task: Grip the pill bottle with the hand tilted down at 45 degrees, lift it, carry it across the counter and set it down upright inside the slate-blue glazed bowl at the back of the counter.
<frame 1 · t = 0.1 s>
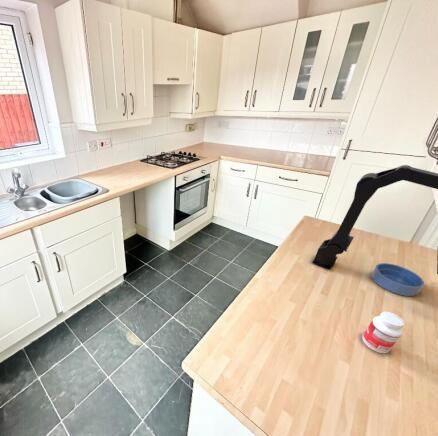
pill bottle: (374, 344, 71), on the counter
bowl: (393, 283, 92), on the counter
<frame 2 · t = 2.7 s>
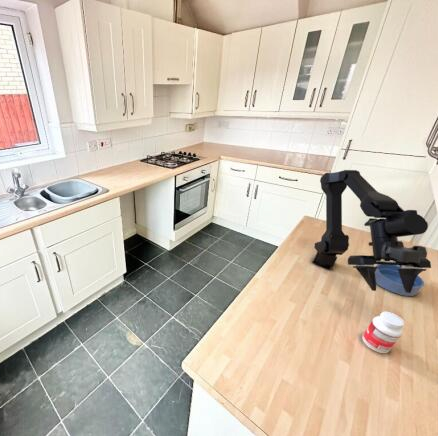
hand: (391, 291, 71), 13 cm above the counter, tool tilted 40°, fingers open, 9 cm apart
nothing on the counter moved.
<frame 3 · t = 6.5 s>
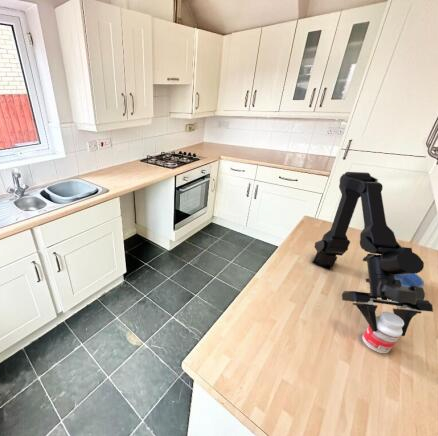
hand: (388, 333, 66), 7 cm above the counter, tool tilted 45°, fingers closed on pill bottle, 6 cm apart
pill bottle: (374, 344, 71), on the counter, touching gripper
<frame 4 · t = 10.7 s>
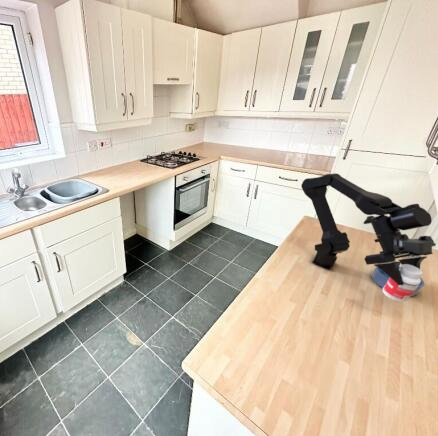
hand: (409, 283, 74), 13 cm above the counter, tool tilted 45°, fingers closed on pill bottle, 6 cm apart
pill bottle: (393, 295, 78), point 7 cm above the counter, touching gripper
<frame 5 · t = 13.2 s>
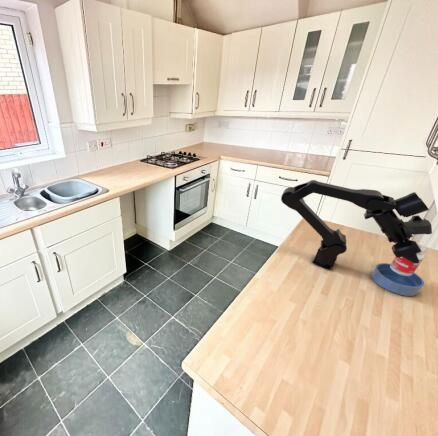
hand: (415, 258, 85), 13 cm above the counter, tool tilted 45°, fingers closed on pill bottle, 6 cm apart
pill bottle: (400, 271, 89), point 6 cm above the counter, touching gripper
when the fingers open (7 cm above the counter, at t = 15.3 s): pill bottle stays where it is, resting on bowl.
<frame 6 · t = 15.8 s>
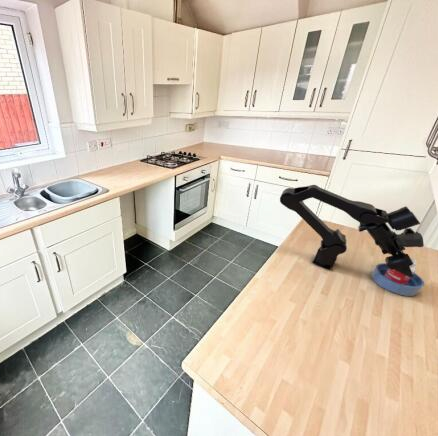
hand: (408, 269, 87), 8 cm above the counter, tool tilted 45°, fingers open, 9 cm apart
pill bottle: (393, 282, 92), resting on bowl
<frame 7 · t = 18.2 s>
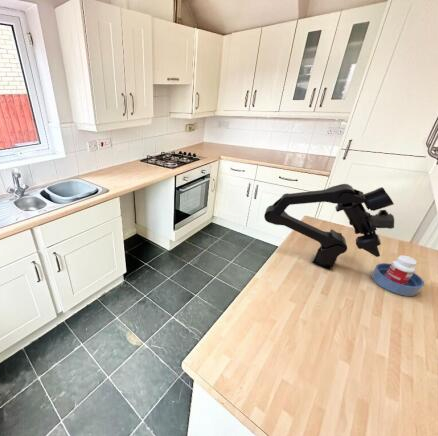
hand: (377, 249, 91), 12 cm above the counter, tool tilted 40°, fingers open, 9 cm apart
nothing on the counter moved.
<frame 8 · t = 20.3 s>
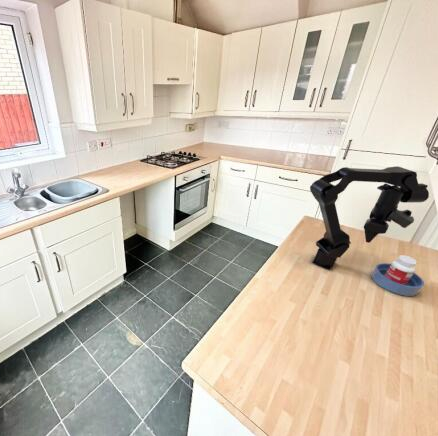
hand: (369, 237, 96), 13 cm above the counter, tool pointing down, fingers open, 9 cm apart
nothing on the counter moved.
at the end: pill bottle inside the target area in the bowl (0.1 cm from its centre), point 0.3 cm above the bowl's base; the gripper is holding nothing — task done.
